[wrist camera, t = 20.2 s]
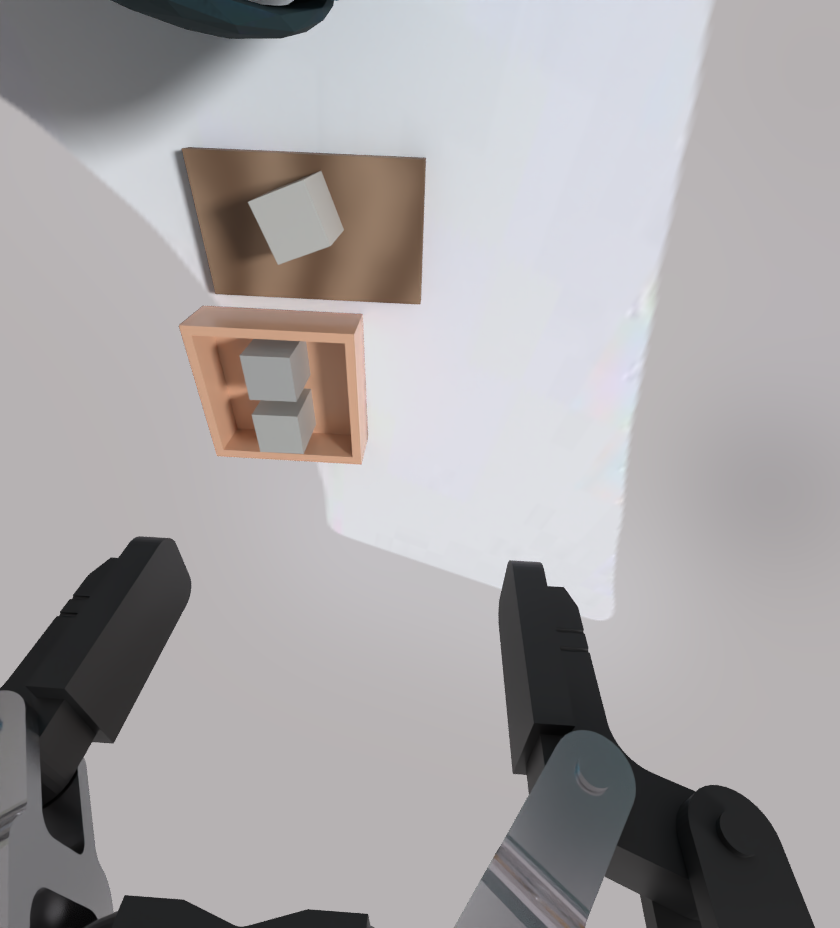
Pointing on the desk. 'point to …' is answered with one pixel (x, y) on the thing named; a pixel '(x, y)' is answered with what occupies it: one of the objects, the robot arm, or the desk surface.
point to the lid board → (327, 270)
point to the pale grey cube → (297, 218)
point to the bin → (331, 382)
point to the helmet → (235, 16)
